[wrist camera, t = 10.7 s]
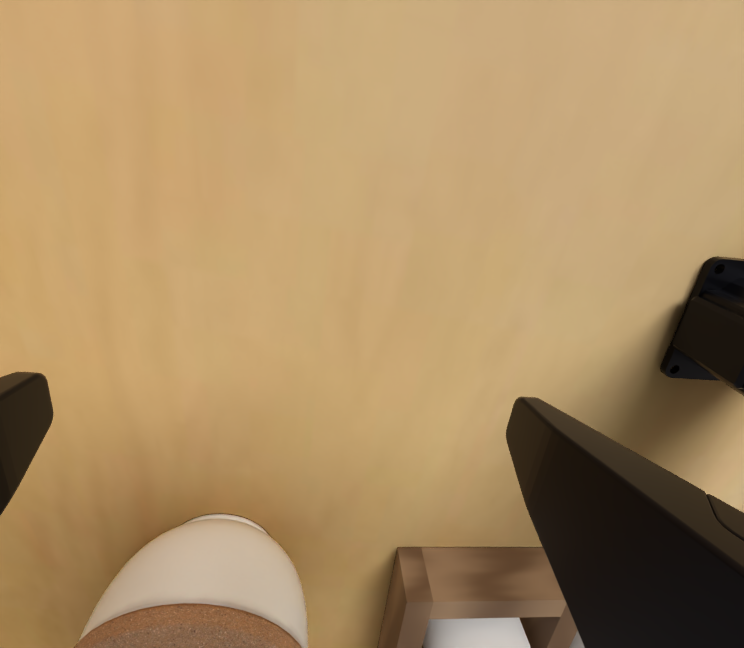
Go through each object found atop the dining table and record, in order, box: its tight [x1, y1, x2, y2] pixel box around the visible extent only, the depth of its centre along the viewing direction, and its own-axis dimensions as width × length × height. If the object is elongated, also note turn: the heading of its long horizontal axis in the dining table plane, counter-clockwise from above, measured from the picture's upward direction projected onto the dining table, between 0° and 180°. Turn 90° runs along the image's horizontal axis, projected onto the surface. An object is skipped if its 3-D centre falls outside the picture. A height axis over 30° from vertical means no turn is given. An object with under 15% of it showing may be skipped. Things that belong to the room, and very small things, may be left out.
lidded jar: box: [74, 514, 308, 648], centre depth 23 cm, size 11×11×9 cm
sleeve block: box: [378, 547, 578, 648], centre depth 30 cm, size 11×11×4 cm
